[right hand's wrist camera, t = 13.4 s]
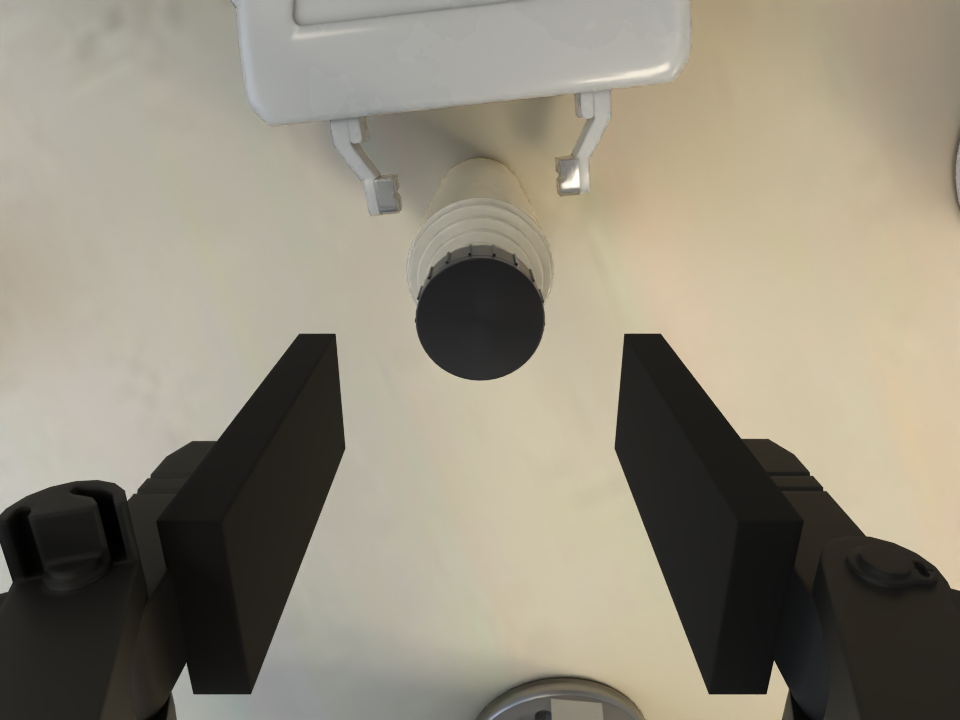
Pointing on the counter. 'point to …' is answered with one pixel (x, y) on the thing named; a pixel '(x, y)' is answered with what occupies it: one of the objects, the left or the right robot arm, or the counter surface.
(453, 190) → the bottle
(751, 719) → the counter surface
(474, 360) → the cap
